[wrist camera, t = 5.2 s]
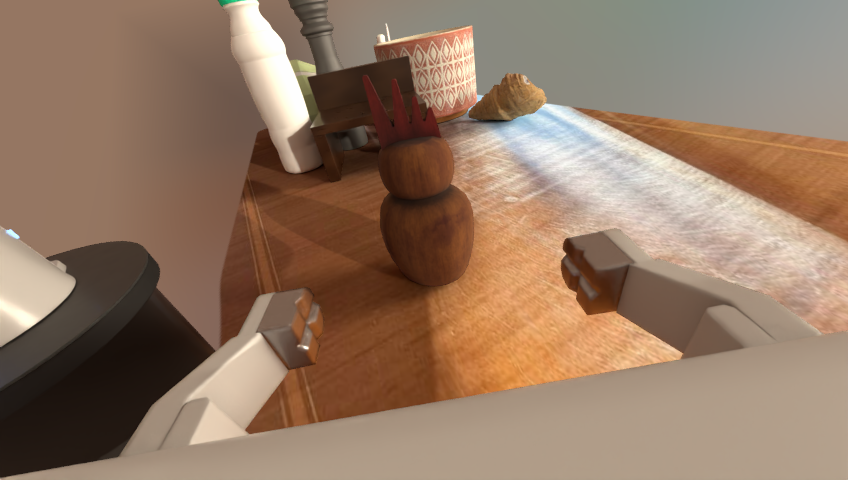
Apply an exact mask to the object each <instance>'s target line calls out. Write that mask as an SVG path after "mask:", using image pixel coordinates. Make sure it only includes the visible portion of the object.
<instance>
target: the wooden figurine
mask: <svg viewBox="0 0 848 480" xmlns="http://www.w3.org/2000/svg"><path fill="white" fill-rule="evenodd" d="M362 79H363V83H364V87H365V90H366V94H367V98H368V101H369V105H370V109H371V113H372V116H373V120H374V124H375V127H376V131H377V134H378V138H379V141H380V144H381V150H380V151H379V159H378V167H379V172H380V176H381V179H382V181H383V184H384V186H385V187H386V188H387V190H388V191H389V192H390V193H389V194H388V195H387V196H386V197H385V198H384V200H383V203H382V205H381V211H380V227H381V232H382V236H383V239H384V242H385V245H386V247H387V250H388V252H389V253H390V255H391V257H392V259H393V261H394V262H395V263H396V265H397V266H398V268H399V269H400V270H401V271H402V273H403V274H404V275H405V276H406V277H407V278H408V279H410V280H412V281H414V282H415V283H418V284H422V285H426V286H441V285H446V284H449V283H451V282H453V281H455V280H457V279H458V278H459V277H460V276H461V275H462V274H463V273H464V272H465V270H466V268H467V266H468V264H469V260H470V257H471V252H472V248H473V240H474V218H473V210H472V207H471V203H470V201H469V200H468V198H467V196H466V194H465V193H464V192H462V191H461V190H460V189H458V188H457V187H455V186H453V185H451V181H452V178H453V174H454V159H453V154H452V152H451V149H450V147H449V145H448V143H447V142H446V140H445V139H444V138H443V137H442V136H441V135H440V131H439V128H438V125H437V121H436V118H435V115H434V113H433V110H432V107H428V108H427V112H426V115H425V119H423V118H422V115H421V111H420V108H419V104H418V101H417V97H416V96H412V110H411V122H409V118H408V115H407V112H406V109H405V106H404V103H403V100H402V97H401V93H400V90H399V87H398V84H397V81H396V79H392V81H391V85H392V99H393V113H394V125H393V124H392V122H391V120H390V118H389V116H388V114H387V112H386V110H385V108H384V106H383V104H382V102H381V100H380V99H379V97H378V95H377V93H376V91H375V89H374V87H373V85H372V83H371V81H370V79H369V77H368V76H367V75H364V76H363V77H362Z"/></svg>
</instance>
